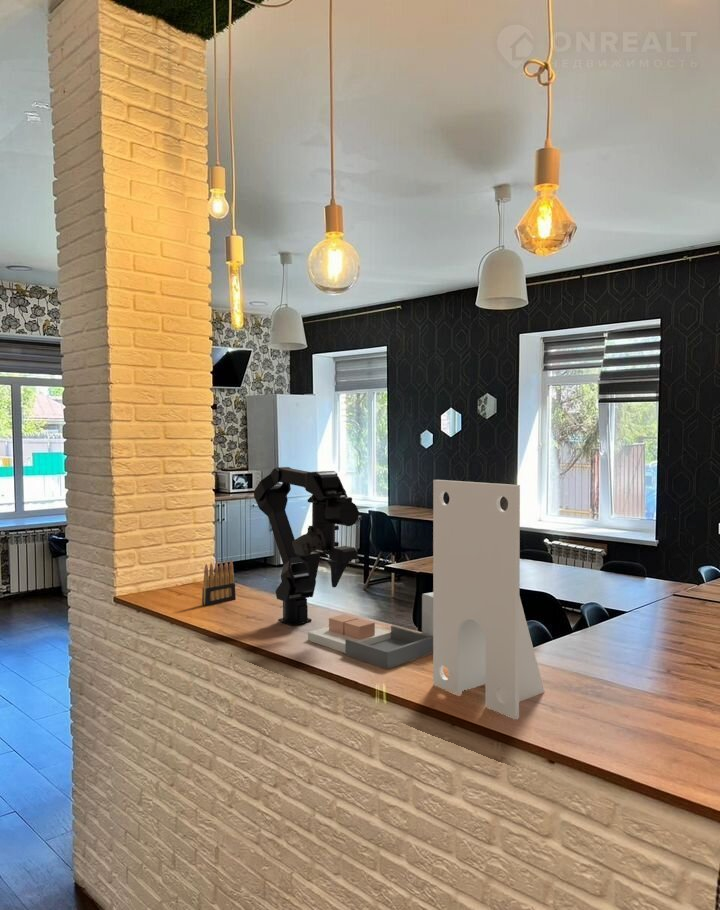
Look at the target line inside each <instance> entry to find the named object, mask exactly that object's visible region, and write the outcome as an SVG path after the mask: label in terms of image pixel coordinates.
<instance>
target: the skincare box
mask: <svg viewBox="0 0 720 910" xmlns="http://www.w3.org/2000/svg"><path fill="white" fill-rule="evenodd" d="M421 633H423V634H427V635H430V636H433V591H432V592H426V593H422V594H421Z"/></svg>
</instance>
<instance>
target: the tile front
mask: <svg viewBox="0 0 720 910" xmlns="http://www.w3.org/2000/svg"><path fill="white" fill-rule="evenodd" d="M375 628H376V623H375V622H374V621H370V620H366V619H363V618H358V619H356V620H352V621H348V622H345V636H349V637H352V638H355V639H358V640H361V639H364V638H367V637H371V636H374V635H375Z"/></svg>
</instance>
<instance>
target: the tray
mask: <svg viewBox="0 0 720 910" xmlns="http://www.w3.org/2000/svg"><path fill="white" fill-rule="evenodd" d="M390 632H391V639H388V640H385V641H381V642H378V643H375V644H372V645H367V644H364V643H361V642H358V641H355V640H352V639H345V653H344V654H345V656H348V657H351V658H353V659H356V660H360V661H363V662H365V663H368V664H371V665H373V666H377V667H379V668H383V669H386V670H389V669H391V668H395V667H397V666H400V665H403V664H406V663H408V662H412V661H414V659H415V660H417V659H420V658H423V657H426V656H428V655H431V654H432V655H433V636H430V635H427V634H423V633H422V632H419V631H416V630H411V629H407V628H405V627H401V626H397V625H390ZM425 655H426V656H425ZM422 656H423V657H422ZM411 660H412V661H411Z"/></svg>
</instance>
